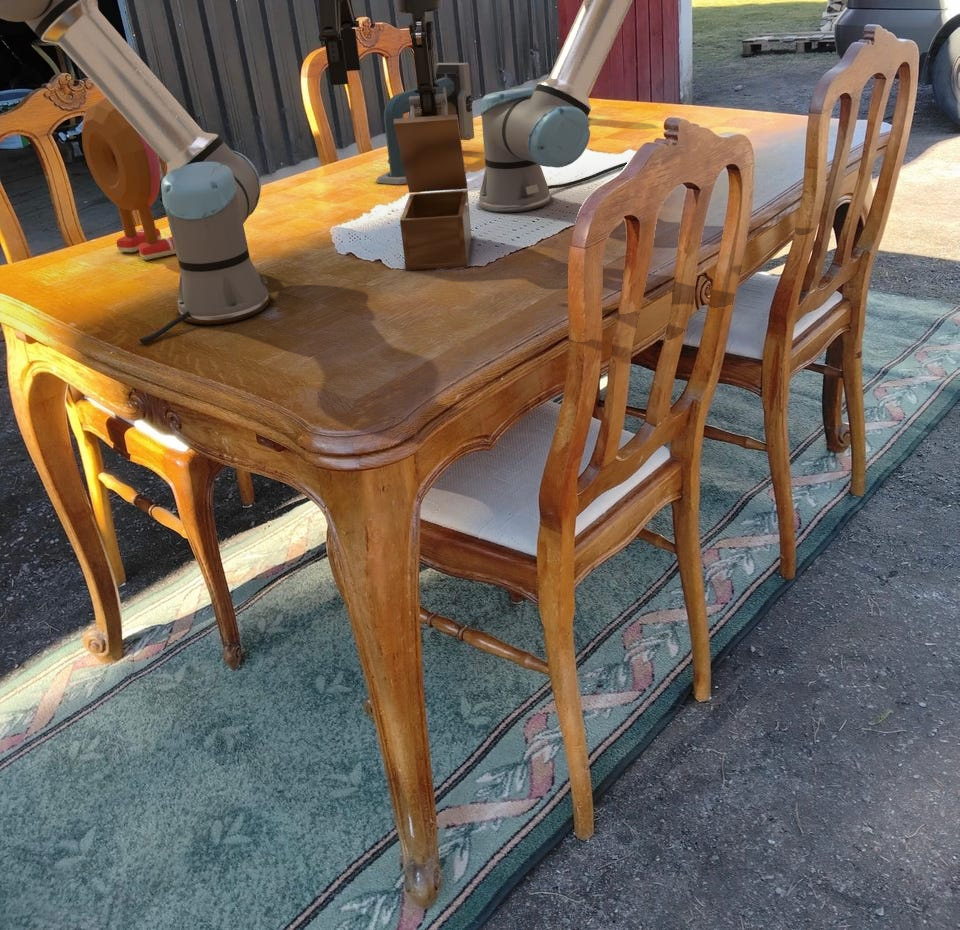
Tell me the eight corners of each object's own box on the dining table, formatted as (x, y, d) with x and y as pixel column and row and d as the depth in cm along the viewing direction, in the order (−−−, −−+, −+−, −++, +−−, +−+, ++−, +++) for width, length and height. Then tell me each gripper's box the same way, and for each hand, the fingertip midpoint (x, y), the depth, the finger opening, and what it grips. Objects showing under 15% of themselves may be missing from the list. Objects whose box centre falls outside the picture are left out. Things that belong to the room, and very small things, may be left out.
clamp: (404, 184, 229) (393, 89, 218) (373, 182, 232) (361, 89, 222) (475, 149, 254) (468, 62, 243) (446, 148, 258) (439, 62, 247)
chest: (467, 266, 176) (462, 216, 171) (405, 270, 176) (399, 220, 172) (471, 236, 191) (467, 189, 186) (415, 240, 191) (409, 193, 187)
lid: (457, 119, 169) (457, 81, 172) (393, 123, 170) (394, 86, 173) (467, 189, 185) (467, 153, 189) (409, 192, 186) (410, 157, 190)
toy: (201, 251, 195) (166, 95, 180) (157, 266, 189) (116, 105, 173) (147, 235, 208) (109, 88, 193) (104, 248, 202) (61, 97, 187)
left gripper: (337, -68, 138) (357, 88, 149) (361, -74, 160) (378, 63, 170) (285, -64, 139) (309, 92, 149) (317, -70, 160) (336, 66, 171)
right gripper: (435, -12, 159) (448, 135, 171) (442, -20, 172) (454, 118, 184) (390, -9, 159) (406, 138, 171) (400, -16, 172) (414, 121, 184)
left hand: (346, 77), depth 160 cm, fingers open, 13 cm apart
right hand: (431, 127), depth 178 cm, fingers closed on lid, 2 cm apart
